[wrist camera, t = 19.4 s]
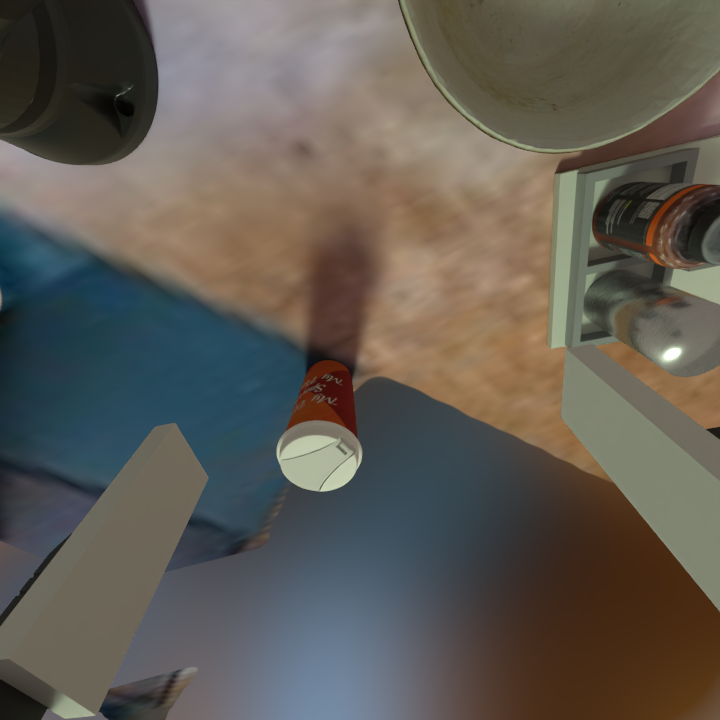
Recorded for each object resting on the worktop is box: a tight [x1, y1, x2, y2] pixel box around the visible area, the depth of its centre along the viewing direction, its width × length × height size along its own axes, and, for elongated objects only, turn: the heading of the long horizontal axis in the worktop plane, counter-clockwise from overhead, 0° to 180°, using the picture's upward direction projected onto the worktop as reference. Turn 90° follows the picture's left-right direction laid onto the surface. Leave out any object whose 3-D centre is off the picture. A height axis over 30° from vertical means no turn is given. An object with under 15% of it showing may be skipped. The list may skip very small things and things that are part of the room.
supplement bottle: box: [592, 182, 720, 269], centre depth 28 cm, size 6×6×11 cm
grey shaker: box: [583, 270, 720, 377], centre depth 32 cm, size 6×6×11 cm
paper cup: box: [277, 360, 362, 491], centre depth 36 cm, size 8×8×14 cm
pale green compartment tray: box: [547, 135, 720, 349], centre depth 34 cm, size 18×18×2 cm
